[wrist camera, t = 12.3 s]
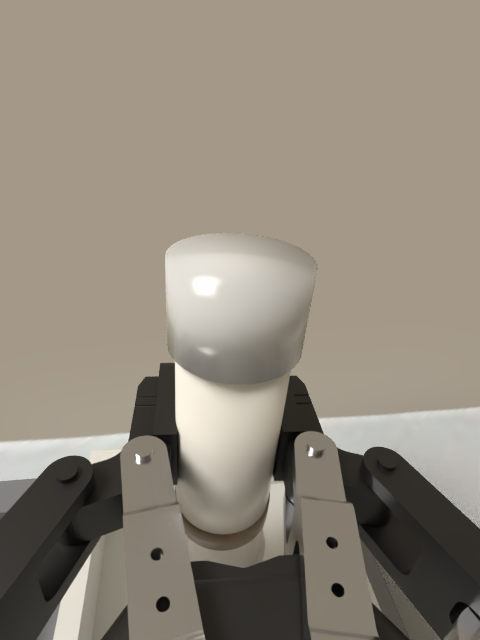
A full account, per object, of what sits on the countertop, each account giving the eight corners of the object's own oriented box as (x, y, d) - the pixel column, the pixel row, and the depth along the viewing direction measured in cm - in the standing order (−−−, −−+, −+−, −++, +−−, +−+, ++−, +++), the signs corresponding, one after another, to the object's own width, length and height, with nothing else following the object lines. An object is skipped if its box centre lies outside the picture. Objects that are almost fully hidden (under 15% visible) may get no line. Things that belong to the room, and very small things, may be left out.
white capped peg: (268, 548, 18) (327, 247, 10) (242, 640, 15) (301, 305, 8) (194, 520, 18) (202, 225, 11) (155, 601, 15) (134, 269, 8)
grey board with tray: (326, 467, 26) (339, 417, 23) (462, 800, 14) (517, 763, 12) (-136, 507, 21) (-174, 450, 19) (-518, 1050, 9) (-740, 1071, 7)
